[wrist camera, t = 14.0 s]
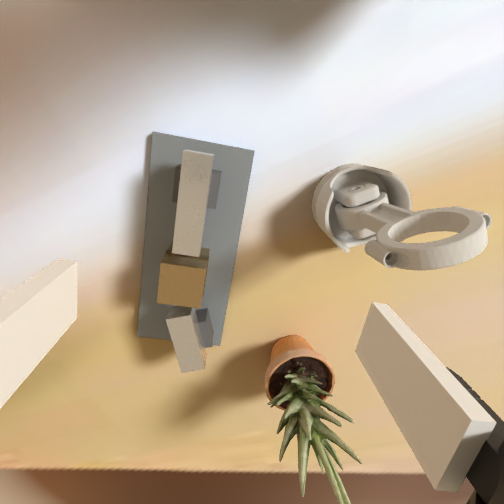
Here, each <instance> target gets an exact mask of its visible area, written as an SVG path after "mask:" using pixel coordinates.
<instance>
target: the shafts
mask: <svg viewBox="0 0 504 504" xmlns="http://www.w3.org/2000/svg"><path fill="white" fill-rule="evenodd" d="M213 161H214V154H210V153H205V152H199V151H194V150H189V149H186V150H183V155H182V164H181V173H180V183H179V192H178V201H177V211H176V220H175V229H174V239H173V248H172V253H175V254H181V255H188V256H195V257H199V256H200V252H201V248H202V241H203V234H204V226H205V219H206V212H207V205H208V197H209V190H210V183H211V176H212V169H213ZM166 323H167V326H168V329H169V332H170V336H171V339H172V342H173V346H174V349H175V352H176V355H177V359H178V362H179V365H180V369H181V372H182V373H185V372H190V371H196V370H201V369H205V364H206V356H207V353H206V349H205V346H204V342H203V338H202V334H201V331H200V327H199V323H198V319H197V315H196V312H195V308H192V307H184V306H173V307H170V309H169V311H168V314H167V317H166Z"/></svg>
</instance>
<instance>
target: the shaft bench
mask: <svg viewBox="0 0 504 504" xmlns="http://www.w3.org/2000/svg"><path fill="white" fill-rule="evenodd" d="M186 149H189V150H194V151H199V152H205V153H210V154H214V161H213V169H212V176H211V183H210V190H209V197H208V205H207V212H206V219H205V226H204V234H203V241H202V248H208V249H210V252H209V262H208V269H207V276H206V282H205V289H204V296H203V297H202V302H201V308H195V312H196V315H197V319H198V323H199V327H200V331H201V334H202V338H203V342H204V346H205V348H207V347H212V345H217V346H220V343H221V337H222V331H223V326H224V320H225V315H226V309H227V303H228V298H229V292H230V286H231V281H232V275H233V269H234V264H235V258H236V252H237V247H238V241H239V235H240V230H241V224H242V218H243V213H244V207H245V202H246V196H247V190H248V185H249V179H250V173H251V168H252V162H253V156H254V151H253V150H248V149H242V148H237V147H232V146H227V145H221V144H216V143H211V142H205V141H200V140H195V139H190V138H184V137H179V136H174V135H168V134H163V133H158V132H153V133H152V146H151V160H150V173H149V186H148V199H147V212H146V225H145V238H144V251H143V264H142V277H141V290H140V304H139V317H138V330H137V336H139V337H148V338H157V339H165V340H172V339H171V336H170V332H169V329H168V326H167V323H166V317H167V314H168V311H169V309H170V307H173V306H177V305H169V304H161V303H157V295H158V285H159V275H160V264H161V261H162V260H163V258H164V256H165V252H166V250H168V249H169V247H170V245H171V243H173V239H174V229H175V220H176V211H177V201H178V192H179V183H180V173H181V164H182V155H183V150H186Z"/></svg>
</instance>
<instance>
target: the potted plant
mask: <svg viewBox="0 0 504 504" xmlns="http://www.w3.org/2000/svg"><path fill="white" fill-rule="evenodd" d="M264 383H265V391H266V394H267V397H268V399H269V400H270V402H269V403H268V404H267V405H270V404H272V406H271V408H272V407H273V406H276V407H278V408H279V409H282V410H284V411H285V412H284V414H283V416H282V418H281V421H280V423H279V427H278V430H277V434H278V433H279V432H280V431H281V430H282V429H283V427H284V426H285V425H286V427H285V433H284V438H283V442H282V446H281V450H280V456H279V459H280V462H281V460H282V457H283V455H284V452H285V450H286V448H287V446H288V444H289V442H290V440H291V439H292V438H293V437H294V435H295V434H297V440H298V468H299V479H300V487H301V491H302V496H304V491H305V481H306V473H307V464H308V456H309V448H310V444H311V445H312V447H313V449H314V452H315V454H316V457H317V460H318V462H319V465H320V467H321V470H322V472H323V468H322V464H323V466H324V468H325V471H326V474H327V476H328V478H329V480H330V483H331V486H332V488H333V491H334V493H335V496H336V498H337V501H338V503H339V504H351V503H350V501H349V498H348V496H347V494H346V491H345V489H344V486H343V484H342V482H341V479H340V477H339V475H338V473H337V471H336V469H335V467H334V465H333V463H332V461H331V459H330V457H329V455H328V453H327V451H326V449H327V450H328V452H329V453H330V454H331V456H332V457H333V458H334V460H335V461H336V462H337V464H338V465H339V467H340V468H341V469H342V470H343V468H342V465H341V463H340V461H339V458H338V456H337V454H336V452H335V450H334V448H333V447H332V445H331V443H330V442H329V440H330V441H331V442H333V443H335V444H337V445H338V446H339V447H340V448H341V449H343V450H344V451H345V452H346V453H348V454H349V455H350V456H351V457H353V458H354V459H355V460H356V461H358V462H359V463H360V464H362V462H361V460H360V459H359V457H358V456H357V455H356V454H355V453H354V451H353V450H352V449H351V448H349V447H348V446H347V445H346V444H345V443H344V442H343V441H342V440H341V439H340V438H339V437H338V436H337V435H336V434H335V433H334V432H333V431H331V430H330V429H329V428H328V427H327V426H326V425H325V424H323V423H322V422H321V421H320V418H321V419H325V420H327V421H330V422H332V423H334V424H336V425H337V426H340V427H341V426H342V425H341V423H340V422H339V421H338V420H336V419H335V418H334V417H332V416H331V415H329V414H328V413H327V412H326V411H324V410H323V409H322V408H321V407H320V406H321V405H322V406H324V407H326V408H327V409H328V410H329V411H331V412H333V413H335V414H337V415H338V416H340V417H342V418H344V419H346V420H348V421H350V422H352V423H353V420H352V419H351V418H350V417H349V416H347V415H346V414H344V413H343V412H341V411H339V410H338V409H336V408H335V407H333V406H332V405H330V404H328V403H326V402H324V401H325V400H326V399H327V398H328V397H329V396H332V394H331V393H332V390H333V388H334V384H335V376H334V373H333V370H332V368H331V366H330V365H329V363H328V361H327V360H326V358H325V357H324V356H323V355H321V354H320V353H318V352H316V351H314V350H313V349H312V348H311V346H310V345H309V344H308V343H307V341H306V340H305V339H303V338H302V337H300V336H297V335H290V336H286V337H283V338H281V339H279V340H278V341H277V342H276V343H275V344H274V345H273V348H272V352H271V357H270V363H269V366H268V368H267V370H266V372H265V377H264ZM325 448H326V449H325ZM320 459H321V460H320ZM321 461H322V463H321ZM323 474H324V472H323Z"/></svg>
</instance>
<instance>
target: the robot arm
mask: <svg viewBox="0 0 504 504" xmlns="http://www.w3.org/2000/svg"><path fill="white" fill-rule="evenodd" d="M76 319H77V261H74V260H67V259H60V258H58V259H56V260H55V261H54V262H52V263H51V264H49V265H48V266H46V267H45V268H44V269H42V270H41V271H39V272H38V273H37V274H35V275H34V276H32V277H31V278H30V279H28V280H27V281H25V282H24V283H23V284H21V285H20V286H18V287H17V288H15V289H14V290H13V291H11V292H10V293H8V294H7V295H6V296H4V297H3V298H1V299H0V409H1V407H2V406H3V405H4V404H5V403H6V401H7V400H8V399H9V398H10V397H11V396H12V394H13V393H14V392H15V391H16V390H17V388H18V387H19V386H20V385H21V384H22V382H23V381H24V380H25V379H26V378H27V377H28V375H29V374H30V373H31V372H32V371H33V369H34V368H35V367H36V366H37V365H38V364H39V362H40V361H41V360H42V359H43V358H44V356H45V355H46V354H47V353H48V352H49V351H50V349H51V348H52V347H53V346H54V345H55V343H56V342H57V341H58V340H59V339H60V337H61V336H62V335H63V334H64V333H65V332H66V330H67V329H68V328H69V327H70V326H71V324H72V323H73V322H74V321H75V320H76ZM355 352H356V353H357V355H358V357H359V359H360V360H361V362H362V364H363V366H364V367H365V369H366V371H367V373H368V374H369V376H370V378H371V380H372V381H373V383H374V385H375V386H376V388H377V390H378V392H379V393H380V395H381V397H382V399H383V400H384V402H385V404H386V406H387V407H388V409H389V411H390V413H391V414H392V416H393V418H394V420H395V421H396V423H397V425H398V427H399V428H400V430H401V432H402V434H403V435H404V437H405V439H406V440H407V442H408V444H409V446H410V447H411V449H412V451H413V453H414V454H415V456H416V458H417V460H418V461H419V463H420V465H421V467H422V468H423V470H424V472H425V474H426V475H427V477H428V479H429V481H430V482H431V484H432V486H433V487H434V489H435V490H441V491H457V492H458V491H459V489H460V487H461V485H462V484H463V482H464V480H465V478H466V477H467V478H468V480H469V481H470V483H471V484H472V486H473V487H474V488H475V490H474V491H473V493H472V495H471V496H470V498H469V500H468V502H467V503H466V504H504V422H503V421H502V420H501V418H500V417H499V416H498V415H497V414H496V413H495V412H494V411H493V410H492V409H491V408H490V407H489V406H488V405H487V404H486V403H485V402H484V401H483V400H481V399H480V398H481V397H480V396H479V395H478V394H477V393H476V392H475V391H473V390H472V388H471V387H470V386H469V385H468V384H467V383H466V382H465V381H464V380H463V379H462V377H460V376H459V375H457V374H456V373H455V372H453V371H452V370H451V369H449V368H448V367H445V366H444V365H443V364H442V363H441V362H440V361H439V360H438V359H437V357H436V356H435V355H434V354H433V353H432V352H431V351H430V350H429V349H428V348H427V347H426V346H425V344H424V343H423V342H422V341H421V340H420V339H419V338H418V337H417V336H416V335H415V334H414V333H413V331H412V330H411V329H410V328H409V327H408V326H407V325H406V324H405V323H404V322H403V321H402V320H401V318H400V317H399V316H398V315H397V314H396V313H395V312H394V311H393V310H392V309H391V308H390V307H389V305H388V304H382V303H375V302H372V304H371V307H370V310H369V313H368V316H367V318H366V321H365V324H364V327H363V330H362V333H361V336H360V339H359V342H358V345H357V348H356V351H355Z"/></svg>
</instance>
